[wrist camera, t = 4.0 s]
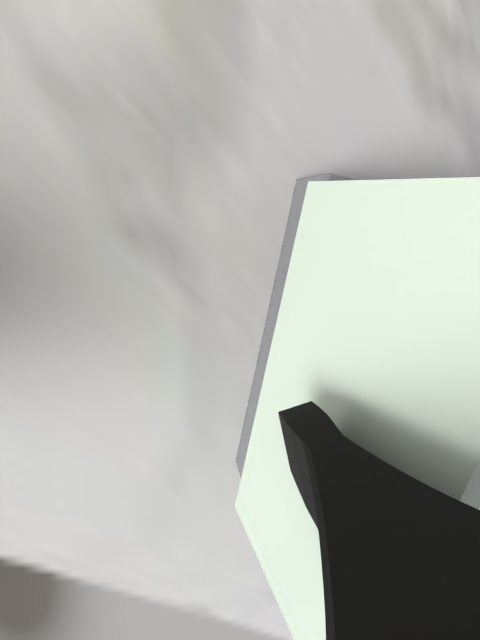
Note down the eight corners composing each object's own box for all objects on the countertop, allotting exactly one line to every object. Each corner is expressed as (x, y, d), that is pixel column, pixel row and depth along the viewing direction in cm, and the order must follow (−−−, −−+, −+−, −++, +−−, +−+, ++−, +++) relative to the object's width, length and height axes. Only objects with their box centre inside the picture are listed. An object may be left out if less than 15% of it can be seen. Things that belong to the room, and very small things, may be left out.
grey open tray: (445, 213, 16) (505, 216, 13) (359, 461, 20) (391, 503, 17) (296, 179, 14) (330, 173, 11) (236, 460, 18) (249, 508, 15)
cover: (639, 186, 5) (613, 174, 4) (367, 735, 9) (342, 749, 8) (328, 186, 11) (308, 181, 11) (251, 503, 15) (234, 506, 15)
